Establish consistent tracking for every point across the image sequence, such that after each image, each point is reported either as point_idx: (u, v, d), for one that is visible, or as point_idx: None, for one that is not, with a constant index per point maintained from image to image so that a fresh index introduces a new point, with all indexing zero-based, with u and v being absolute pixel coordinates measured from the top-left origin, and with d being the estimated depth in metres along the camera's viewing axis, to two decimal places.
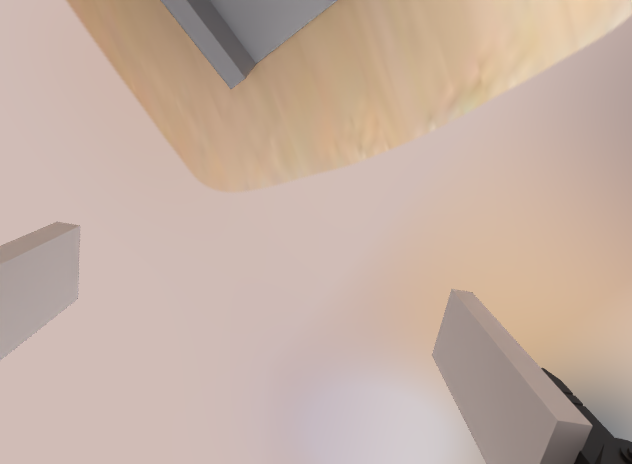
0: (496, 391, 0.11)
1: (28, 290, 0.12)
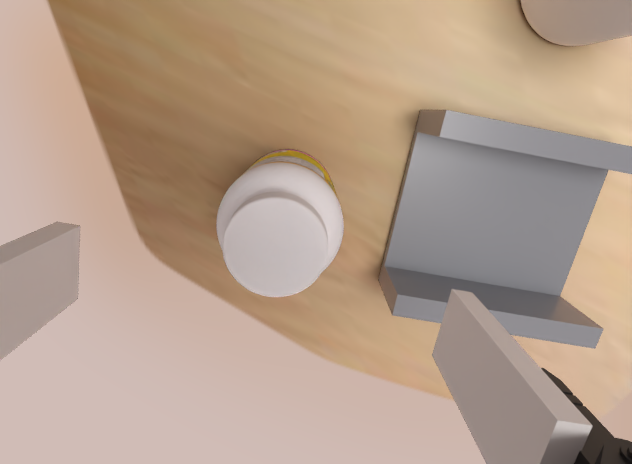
0: (496, 391, 0.11)
1: (28, 290, 0.12)
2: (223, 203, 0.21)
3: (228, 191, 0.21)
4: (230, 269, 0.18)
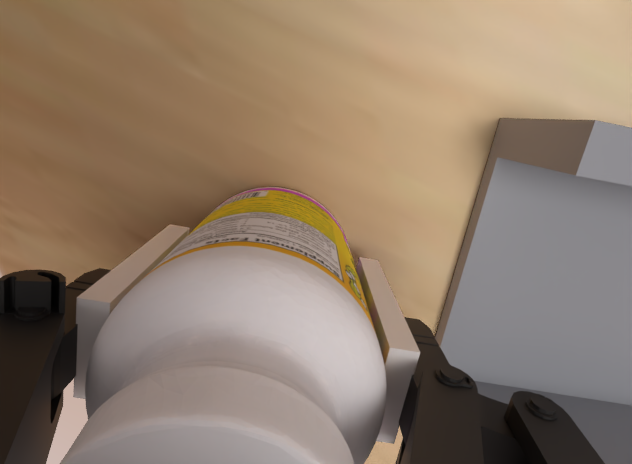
0: None
1: None
2: (94, 353, 0.08)
3: (107, 322, 0.08)
4: None
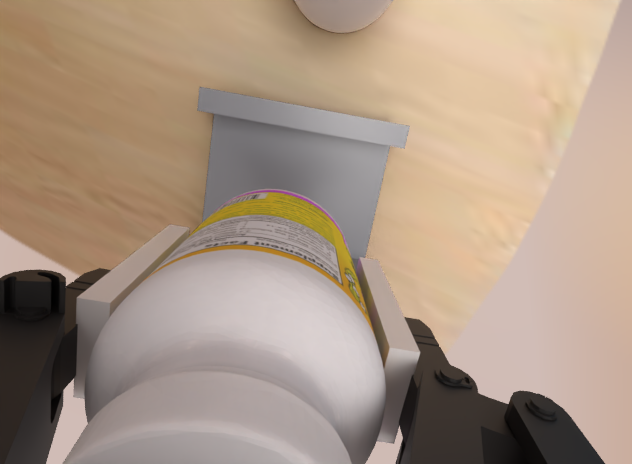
0: None
1: None
2: (93, 356, 0.08)
3: (106, 326, 0.08)
4: None
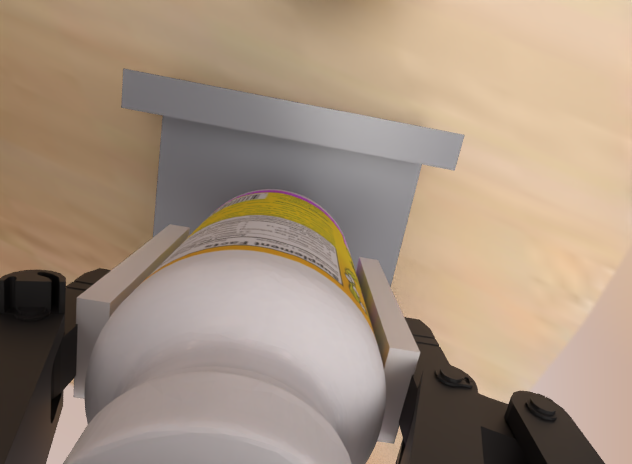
0: None
1: None
2: (93, 357, 0.08)
3: (106, 326, 0.08)
4: None
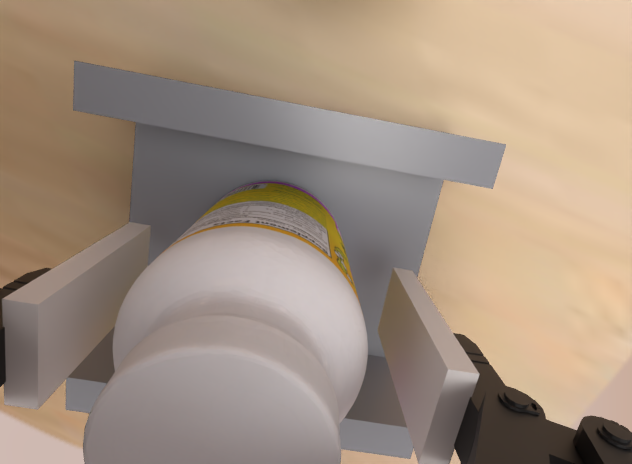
0: (414, 353, 0.12)
1: (116, 283, 0.13)
2: (121, 315, 0.10)
3: (131, 289, 0.10)
4: None
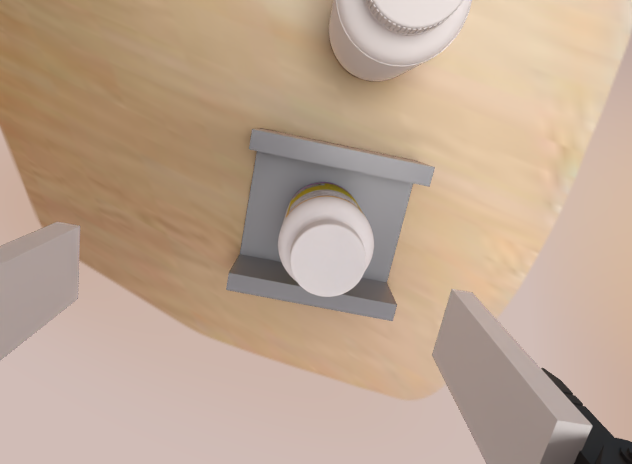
0: (496, 391, 0.11)
1: (28, 290, 0.12)
2: (285, 226, 0.28)
3: (289, 217, 0.28)
4: (294, 275, 0.25)
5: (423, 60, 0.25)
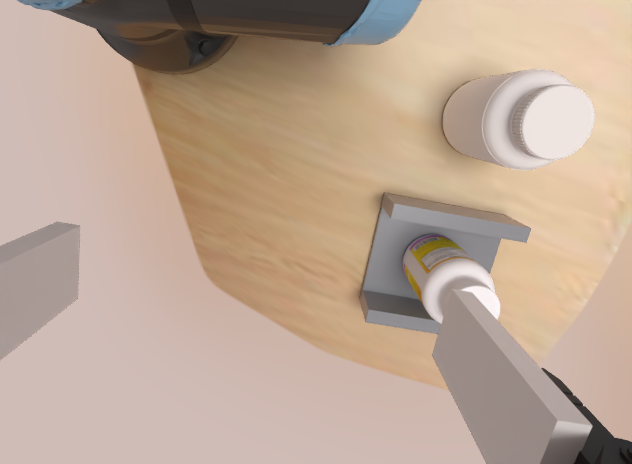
0: (496, 391, 0.11)
1: (28, 290, 0.12)
2: (431, 282, 0.37)
3: (434, 275, 0.37)
4: None
5: (542, 166, 0.34)
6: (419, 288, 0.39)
